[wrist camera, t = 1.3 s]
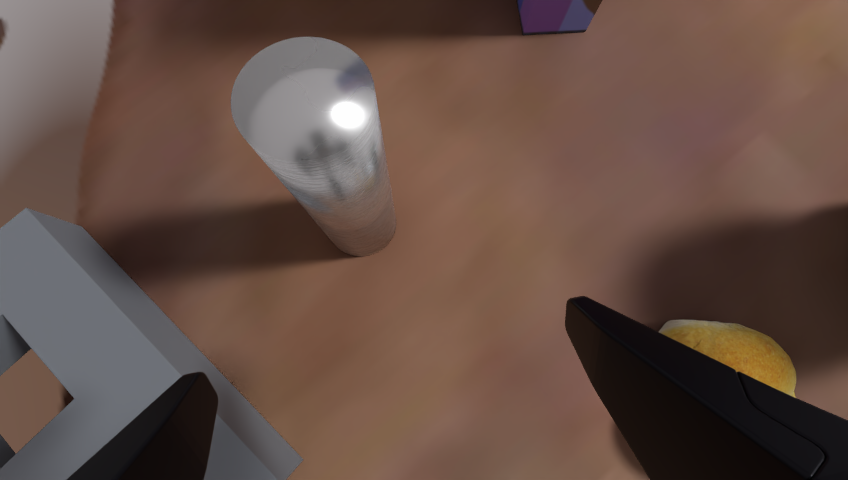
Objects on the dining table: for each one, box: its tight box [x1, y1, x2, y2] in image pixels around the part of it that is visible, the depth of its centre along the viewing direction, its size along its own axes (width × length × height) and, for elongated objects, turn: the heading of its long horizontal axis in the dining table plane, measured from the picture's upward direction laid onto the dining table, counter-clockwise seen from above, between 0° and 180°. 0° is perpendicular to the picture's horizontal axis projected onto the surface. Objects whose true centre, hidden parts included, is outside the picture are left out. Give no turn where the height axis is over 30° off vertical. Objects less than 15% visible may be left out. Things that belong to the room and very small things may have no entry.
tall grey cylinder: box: [231, 37, 396, 256], centre depth 18 cm, size 4×4×13 cm
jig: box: [0, 208, 303, 480], centre depth 19 cm, size 20×14×4 cm
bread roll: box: [659, 320, 796, 398], centre depth 20 cm, size 8×9×4 cm
